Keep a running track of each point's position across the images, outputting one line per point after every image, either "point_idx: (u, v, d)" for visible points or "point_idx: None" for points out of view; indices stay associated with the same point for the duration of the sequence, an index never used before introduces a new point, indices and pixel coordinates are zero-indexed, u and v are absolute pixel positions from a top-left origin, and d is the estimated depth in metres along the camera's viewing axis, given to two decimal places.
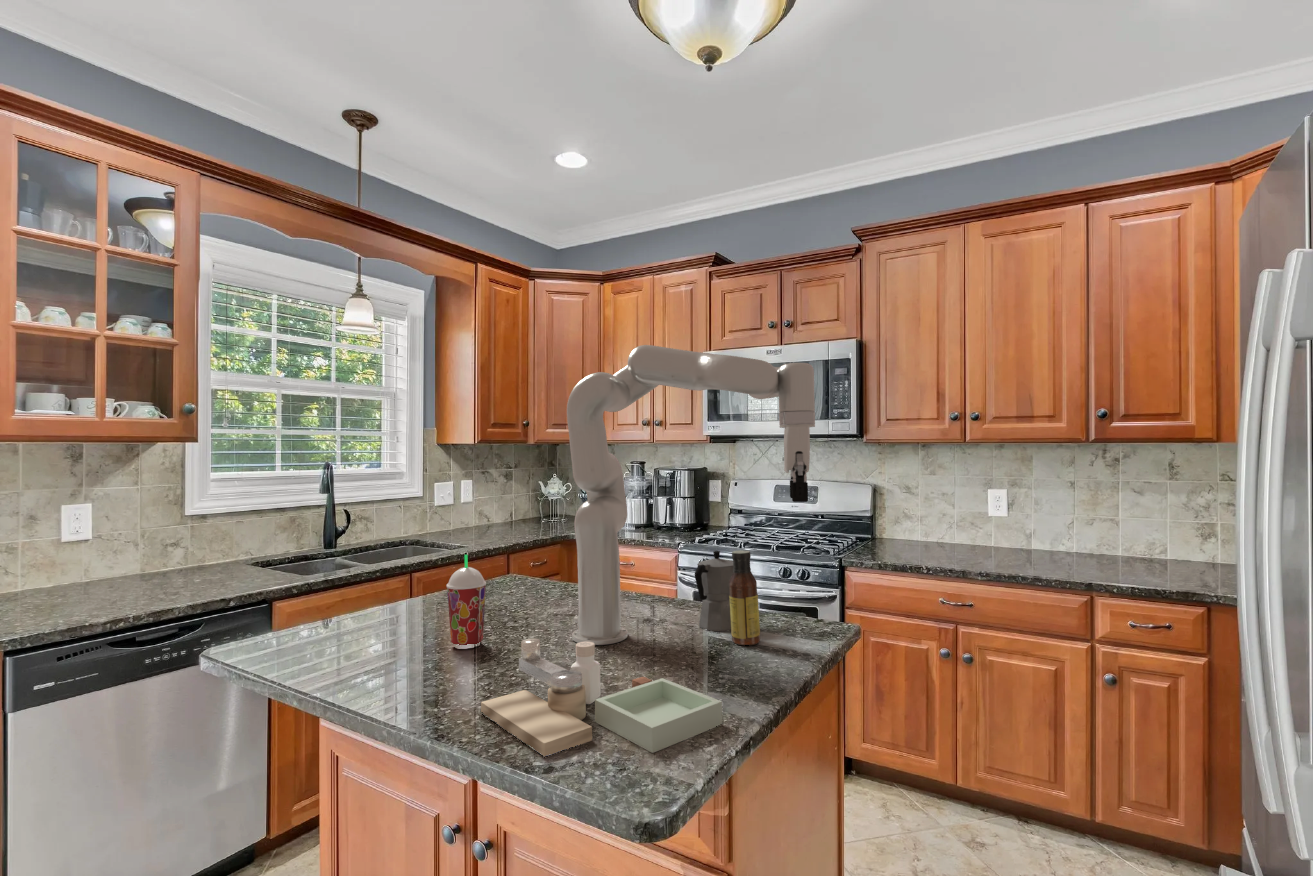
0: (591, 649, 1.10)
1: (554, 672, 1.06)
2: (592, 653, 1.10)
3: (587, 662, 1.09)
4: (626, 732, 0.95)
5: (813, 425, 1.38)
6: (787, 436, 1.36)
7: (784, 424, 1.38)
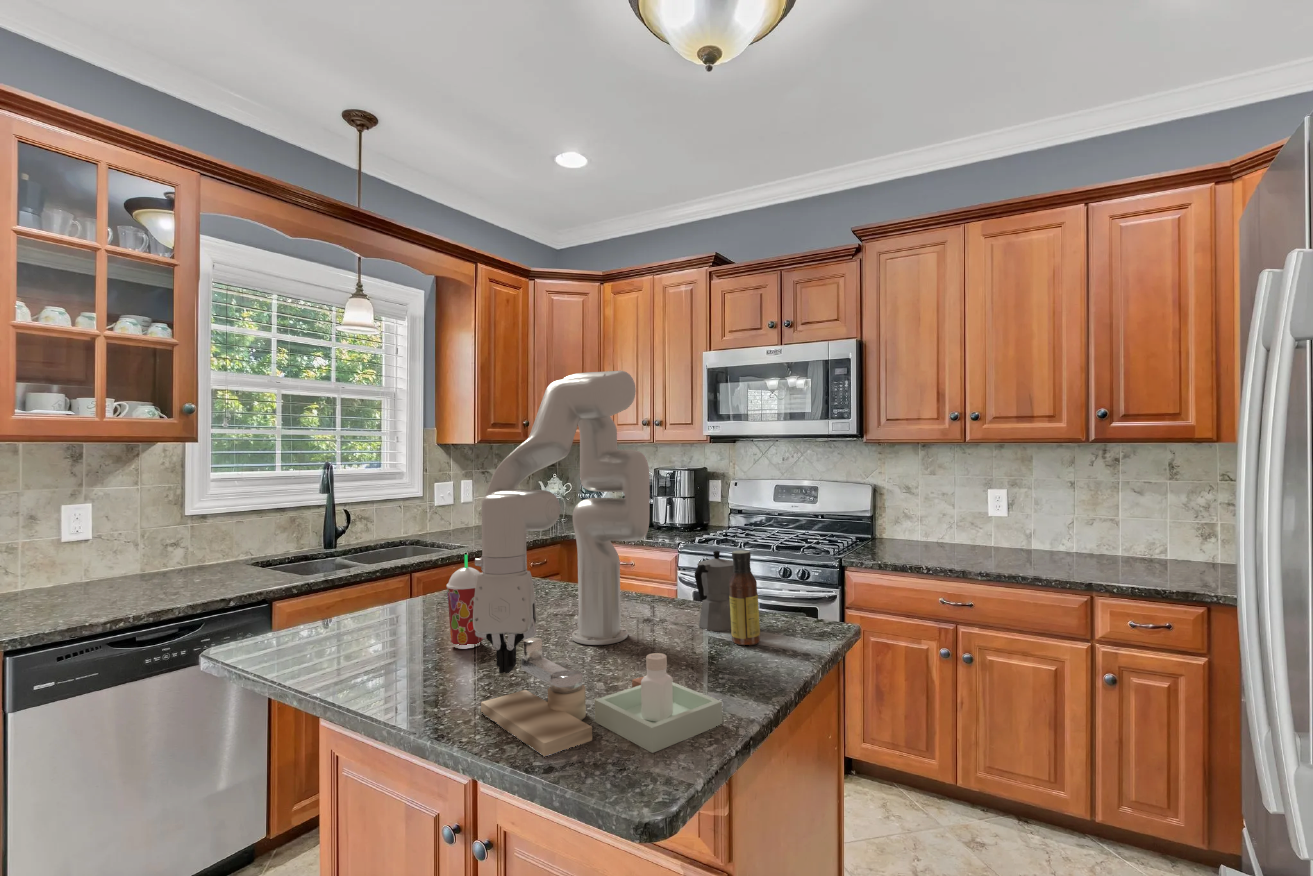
0: (664, 662, 1.00)
1: (554, 672, 1.06)
2: (664, 666, 1.00)
3: (659, 676, 1.00)
4: (626, 732, 0.95)
5: None
6: (525, 587, 1.10)
7: (512, 573, 1.10)
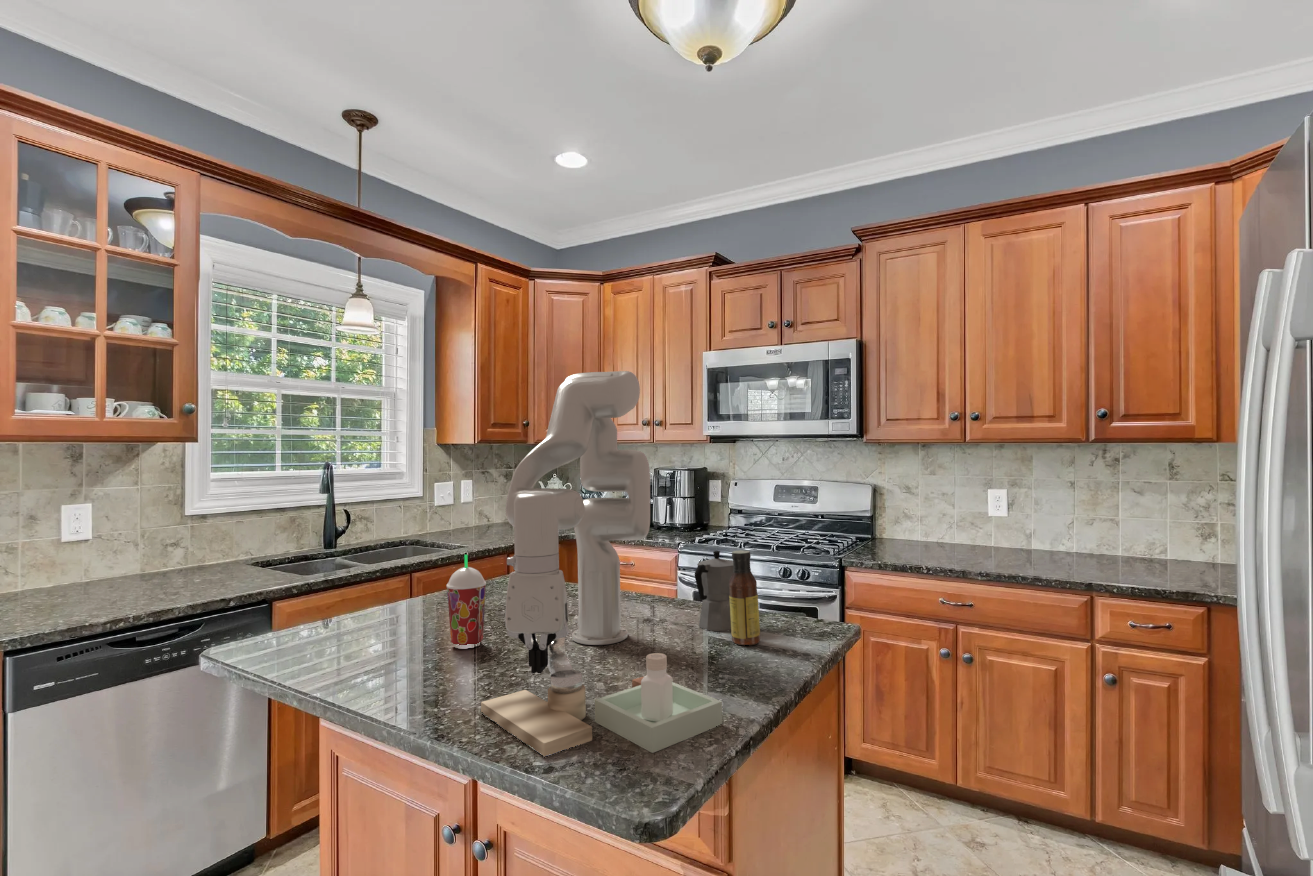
0: (664, 662, 1.00)
1: (559, 670, 1.06)
2: (664, 666, 1.00)
3: (659, 676, 1.00)
4: (626, 732, 0.95)
5: None
6: (558, 587, 1.09)
7: (545, 572, 1.09)
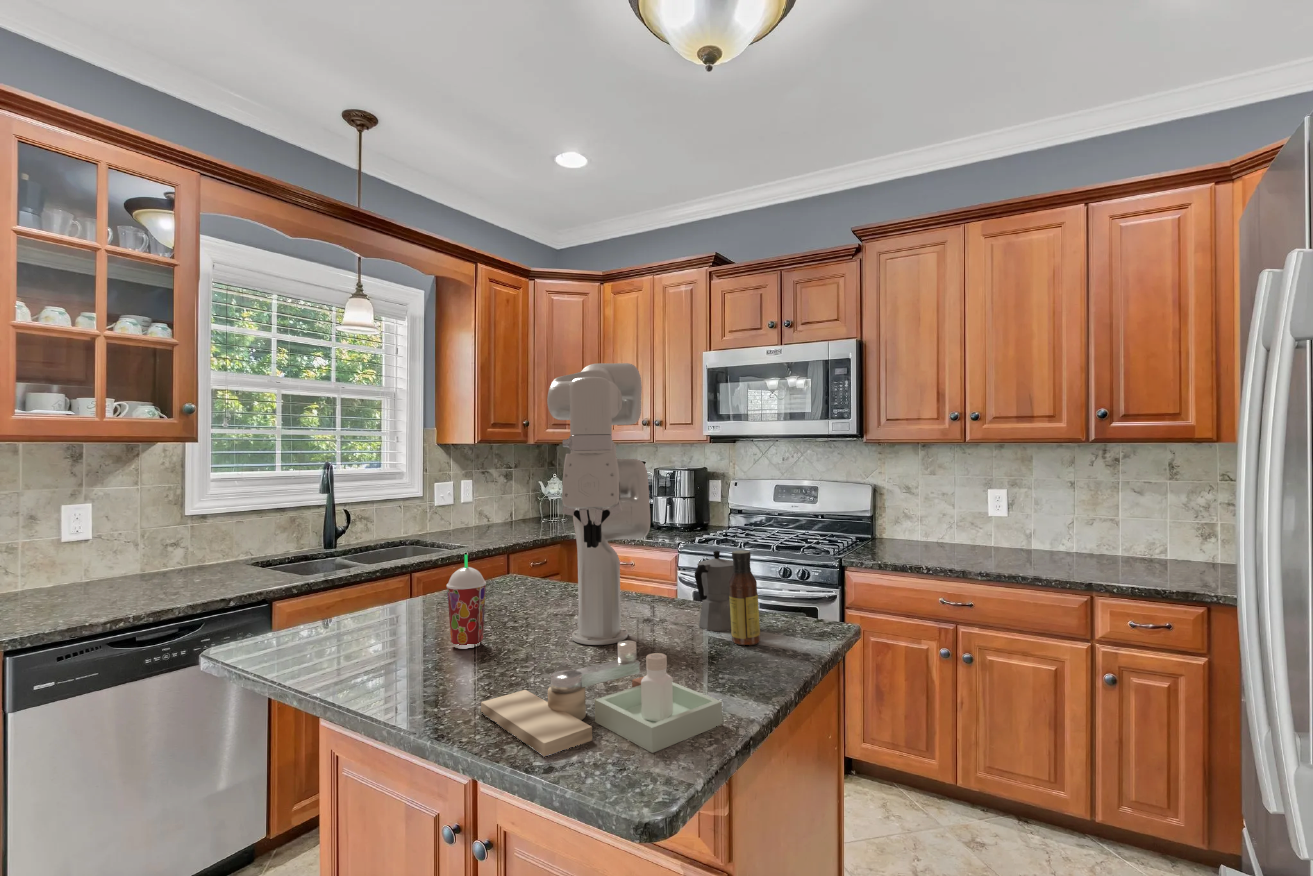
0: (664, 662, 1.00)
1: (577, 670, 1.06)
2: (664, 666, 1.00)
3: (659, 676, 1.00)
4: (626, 732, 0.95)
5: None
6: (613, 464, 1.15)
7: (601, 450, 1.15)
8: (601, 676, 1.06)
